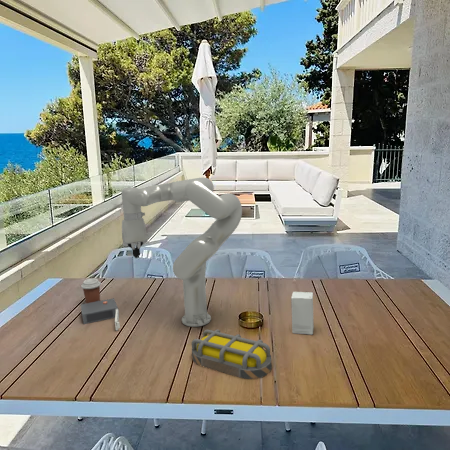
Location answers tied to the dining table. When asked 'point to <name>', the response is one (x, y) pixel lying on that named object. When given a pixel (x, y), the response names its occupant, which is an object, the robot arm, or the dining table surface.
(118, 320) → the light grey flat bar
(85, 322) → the gray button box
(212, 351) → the cage light
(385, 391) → the dining table surface
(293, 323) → the skincare box
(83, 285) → the coffee cup
